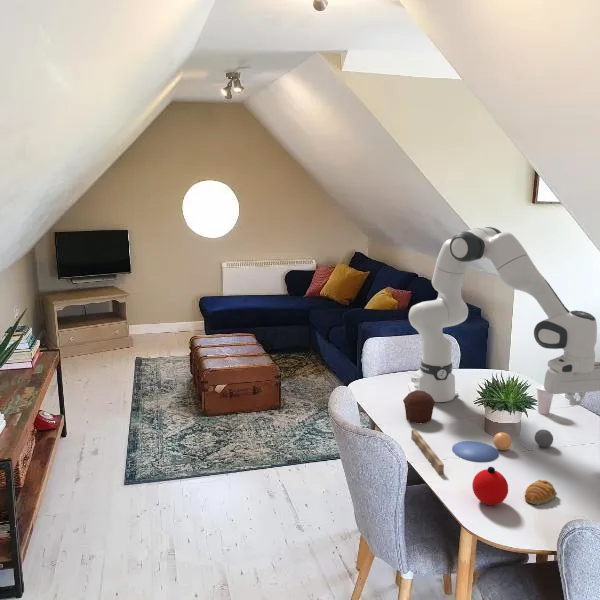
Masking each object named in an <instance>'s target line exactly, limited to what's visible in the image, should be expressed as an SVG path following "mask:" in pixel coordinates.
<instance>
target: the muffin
mask: <svg viewBox="0 0 600 600" xmlns="http://www.w3.org/2000/svg"><path fill="white" fill-rule="evenodd" d="M402 402H403V405H404V411H405V418H406V419H405V420H407V421H409V422H410V423H413V424H417V423H418V424H417V425H420V423H422V424H427V422H428V423H430V422H431V421H432V417H433V412H434V407H435V405H436V402H435V401H434V399H433V398H432V396H431V395H430V394H428V393H426V392H425V391H419V390H418V391H413V392H411V393H410V392H409V393H408V394H407V395H406V396H405V397H404V398H403V399H402Z"/></svg>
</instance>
